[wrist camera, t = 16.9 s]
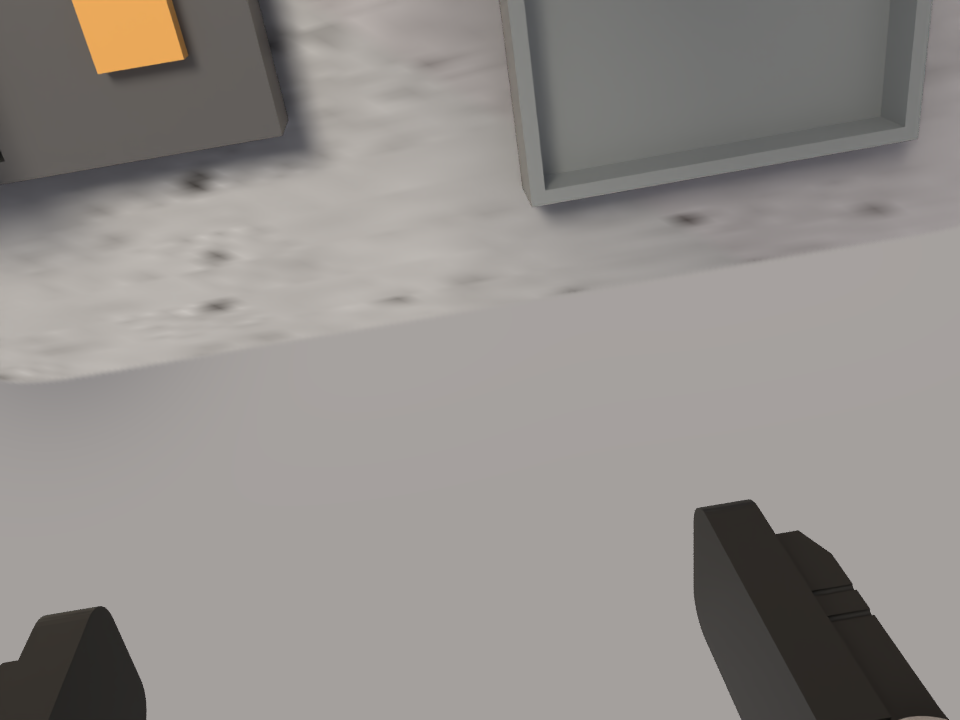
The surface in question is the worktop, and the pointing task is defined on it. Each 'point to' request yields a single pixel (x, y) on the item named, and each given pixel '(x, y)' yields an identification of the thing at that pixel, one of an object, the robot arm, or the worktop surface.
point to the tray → (704, 86)
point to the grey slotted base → (130, 82)
